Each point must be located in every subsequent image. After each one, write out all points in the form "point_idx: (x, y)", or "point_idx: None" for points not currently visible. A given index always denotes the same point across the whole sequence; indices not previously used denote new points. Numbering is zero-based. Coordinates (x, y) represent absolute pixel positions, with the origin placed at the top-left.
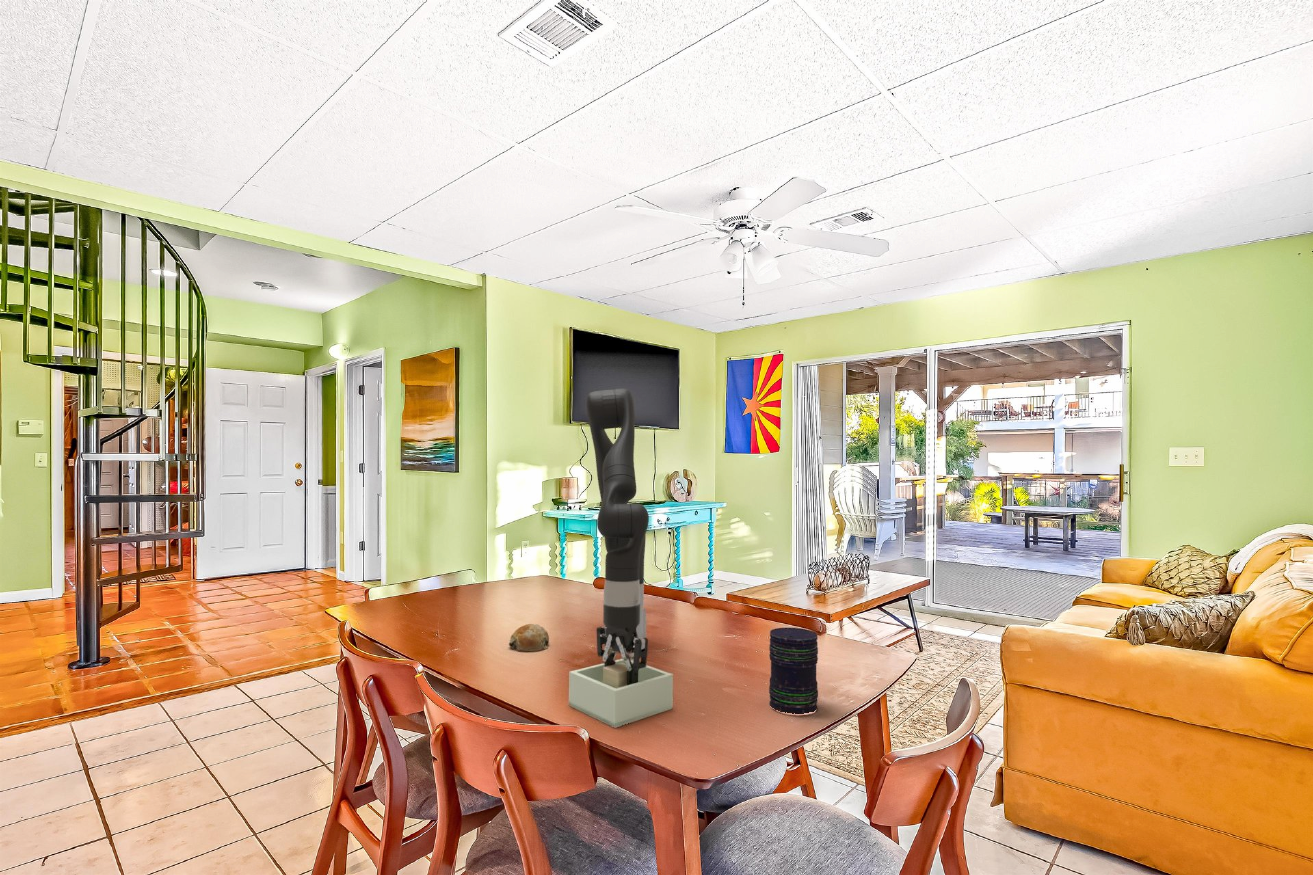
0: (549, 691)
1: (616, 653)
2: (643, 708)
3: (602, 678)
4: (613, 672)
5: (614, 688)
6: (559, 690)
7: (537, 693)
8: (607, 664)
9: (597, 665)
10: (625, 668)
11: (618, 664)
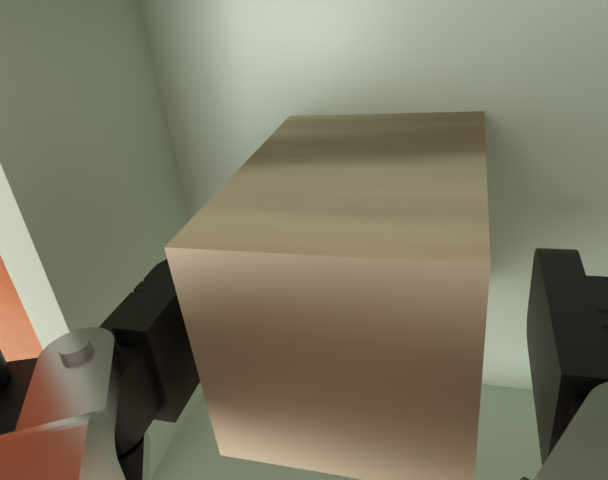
0: (6, 307)
1: (111, 407)
2: None
3: (125, 237)
4: (393, 477)
5: None
6: (5, 269)
7: (17, 352)
8: (182, 405)
9: (49, 331)
10: (387, 359)
11: (211, 315)
